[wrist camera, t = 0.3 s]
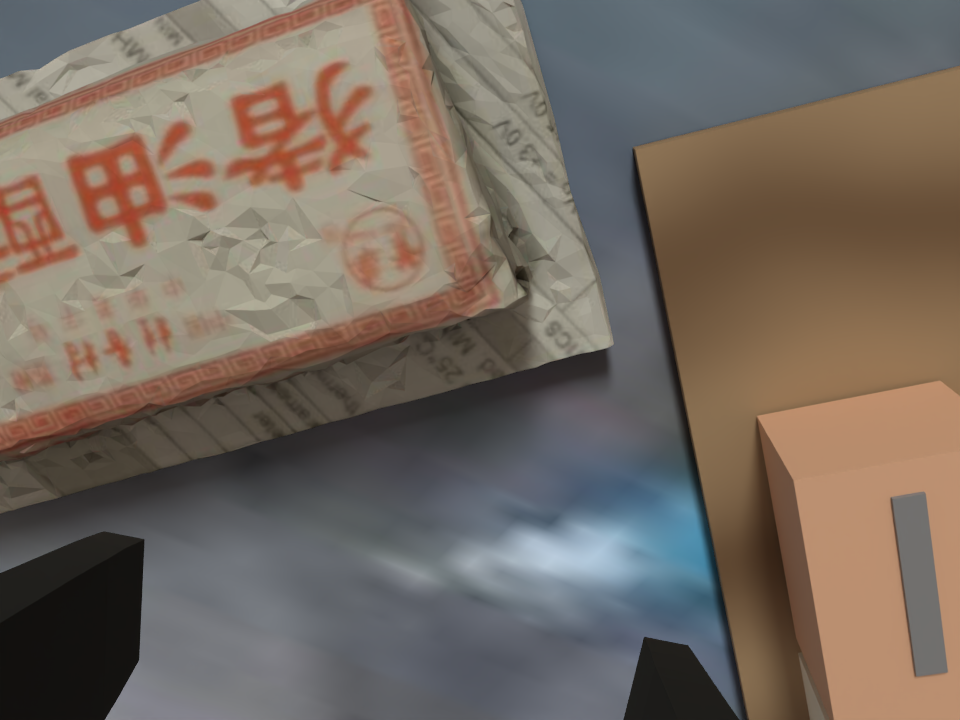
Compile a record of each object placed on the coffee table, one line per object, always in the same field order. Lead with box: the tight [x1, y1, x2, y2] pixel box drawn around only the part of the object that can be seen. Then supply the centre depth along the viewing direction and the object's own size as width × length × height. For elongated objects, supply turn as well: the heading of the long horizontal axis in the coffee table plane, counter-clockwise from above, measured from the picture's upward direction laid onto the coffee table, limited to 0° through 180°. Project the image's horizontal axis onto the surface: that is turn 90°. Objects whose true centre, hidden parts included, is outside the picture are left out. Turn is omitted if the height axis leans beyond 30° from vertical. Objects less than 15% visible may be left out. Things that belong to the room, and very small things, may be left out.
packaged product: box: [0, 0, 614, 514], centre depth 19 cm, size 18×5×10 cm
